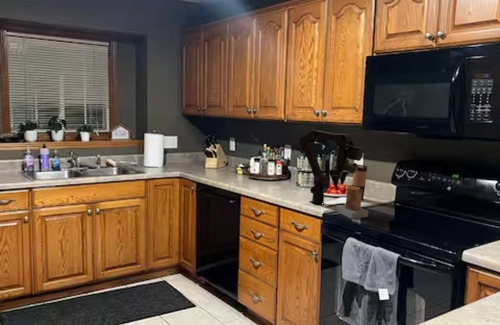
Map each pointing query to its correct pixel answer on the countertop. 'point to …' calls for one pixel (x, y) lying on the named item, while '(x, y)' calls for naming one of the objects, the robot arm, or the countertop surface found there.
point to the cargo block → (355, 188)
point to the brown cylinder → (353, 199)
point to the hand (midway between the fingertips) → (339, 185)
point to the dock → (352, 212)
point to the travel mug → (360, 178)
